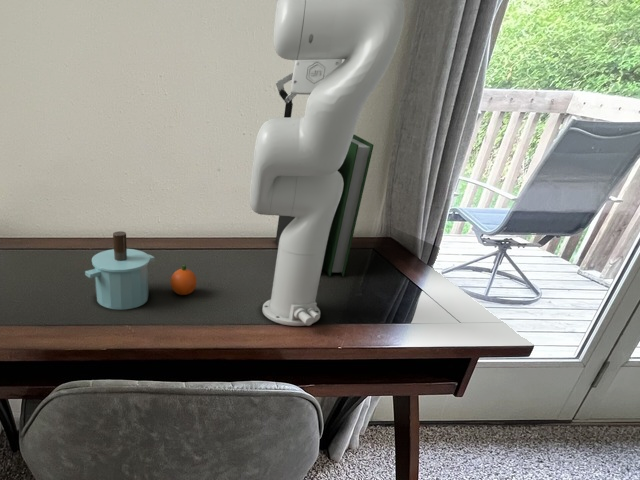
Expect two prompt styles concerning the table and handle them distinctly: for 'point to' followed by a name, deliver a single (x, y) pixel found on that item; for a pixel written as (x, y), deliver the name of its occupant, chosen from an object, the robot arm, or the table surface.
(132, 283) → the pot
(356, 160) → the green and black books
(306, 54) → the robot arm
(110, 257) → the pot lid
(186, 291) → the orange
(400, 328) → the table surface
